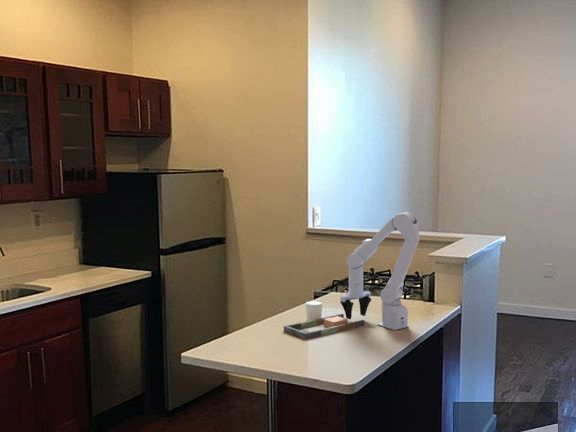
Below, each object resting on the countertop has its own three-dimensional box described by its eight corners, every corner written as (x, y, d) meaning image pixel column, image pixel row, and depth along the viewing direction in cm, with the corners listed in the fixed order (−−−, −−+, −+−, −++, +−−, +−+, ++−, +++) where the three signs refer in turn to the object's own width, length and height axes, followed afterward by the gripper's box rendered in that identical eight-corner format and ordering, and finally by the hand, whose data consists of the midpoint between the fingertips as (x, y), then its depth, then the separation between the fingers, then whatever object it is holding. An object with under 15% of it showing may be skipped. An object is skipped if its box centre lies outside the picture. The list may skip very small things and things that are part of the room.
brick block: (347, 326, 233) (347, 319, 233) (333, 330, 229) (333, 322, 229) (338, 323, 238) (338, 316, 238) (323, 326, 234) (323, 318, 234)
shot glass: (321, 322, 239) (321, 305, 238) (304, 321, 240) (303, 304, 239) (323, 318, 245) (323, 300, 245) (307, 317, 247) (306, 300, 246)
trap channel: (364, 325, 234) (364, 320, 234) (305, 339, 217) (305, 333, 216) (342, 318, 244) (342, 313, 244) (283, 331, 227) (283, 326, 227)
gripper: (362, 279, 246) (362, 312, 247) (335, 283, 237) (335, 317, 239) (374, 281, 240) (374, 315, 242) (347, 286, 232) (347, 321, 233)
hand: (355, 317), depth 240 cm, fingers open, 7 cm apart
